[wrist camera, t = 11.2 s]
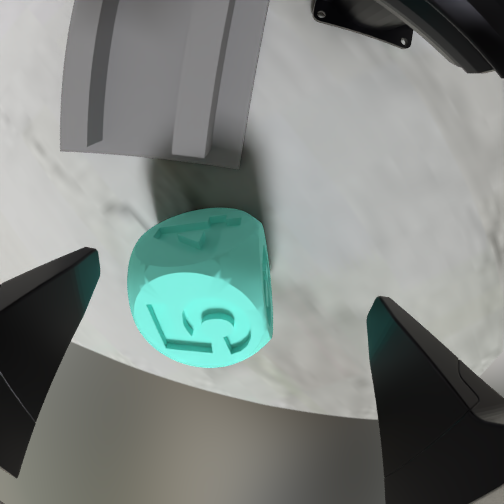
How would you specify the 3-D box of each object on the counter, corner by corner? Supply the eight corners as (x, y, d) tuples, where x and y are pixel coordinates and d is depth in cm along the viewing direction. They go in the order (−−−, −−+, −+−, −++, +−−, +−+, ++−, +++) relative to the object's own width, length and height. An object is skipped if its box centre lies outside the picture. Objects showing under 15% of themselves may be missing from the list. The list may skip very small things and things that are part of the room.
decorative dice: (155, 214, 23) (110, 274, 16) (260, 200, 22) (256, 261, 15) (181, 298, 26) (156, 369, 20) (273, 291, 26) (273, 367, 19)
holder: (274, -26, 13) (275, -41, 11) (239, 167, 20) (235, 179, 18) (83, -19, 13) (63, -26, 10) (64, 149, 20) (43, 159, 17)
